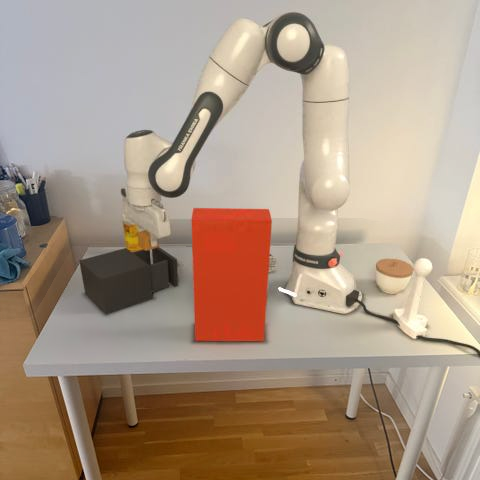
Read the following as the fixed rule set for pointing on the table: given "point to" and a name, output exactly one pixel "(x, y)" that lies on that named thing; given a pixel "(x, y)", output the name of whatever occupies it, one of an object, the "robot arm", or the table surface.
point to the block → (145, 240)
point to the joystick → (414, 303)
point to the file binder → (230, 273)
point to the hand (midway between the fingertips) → (148, 242)
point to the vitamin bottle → (130, 234)
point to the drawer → (161, 267)
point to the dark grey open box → (116, 280)
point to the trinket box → (392, 275)
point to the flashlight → (272, 263)
